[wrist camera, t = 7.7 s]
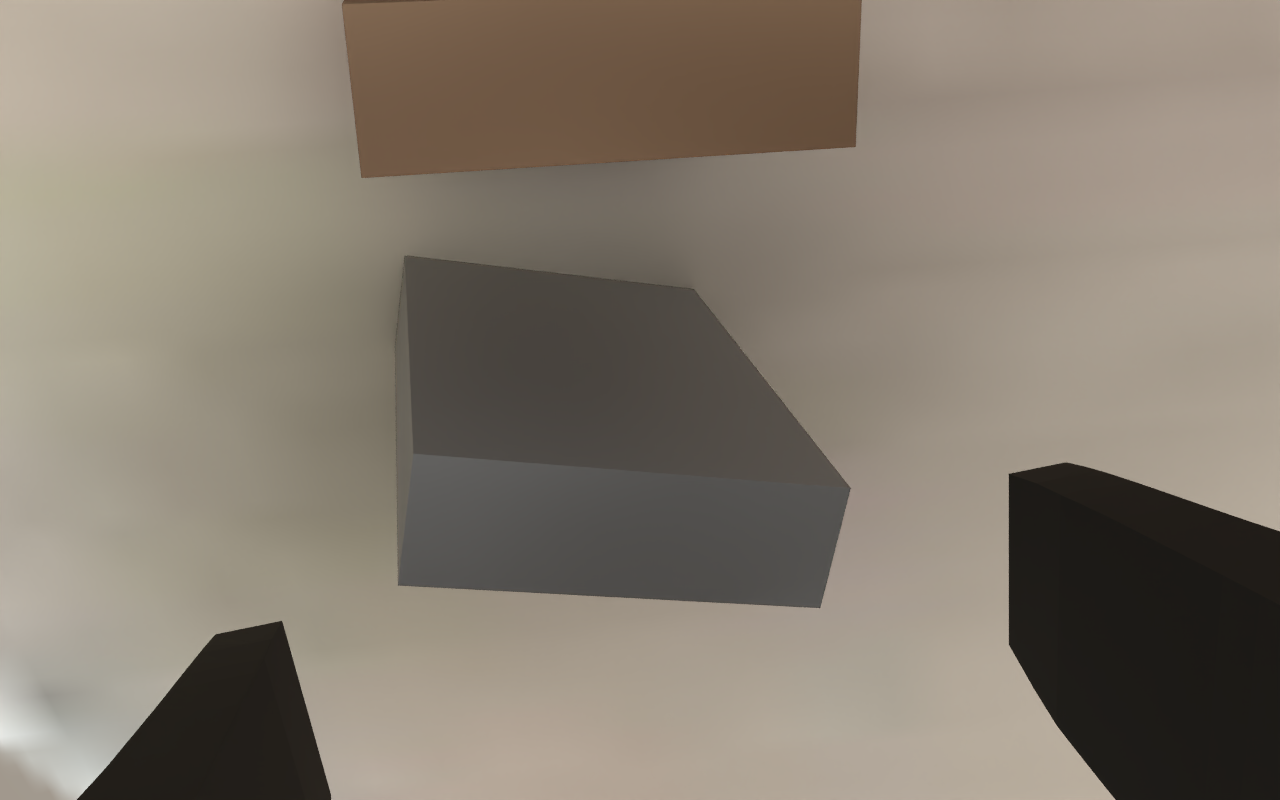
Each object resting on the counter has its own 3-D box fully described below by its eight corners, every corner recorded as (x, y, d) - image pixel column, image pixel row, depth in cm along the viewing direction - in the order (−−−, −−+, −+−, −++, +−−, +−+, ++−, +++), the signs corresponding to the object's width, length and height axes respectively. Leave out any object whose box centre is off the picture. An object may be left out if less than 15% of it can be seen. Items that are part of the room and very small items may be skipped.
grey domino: (404, 255, 20) (413, 452, 13) (693, 289, 21) (850, 488, 14) (394, 346, 21) (397, 585, 13) (677, 374, 22) (820, 607, 15)
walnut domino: (361, -36, 18) (343, 4, 11) (685, -47, 19) (862, -17, 12) (373, 72, 19) (361, 178, 12) (685, 57, 20) (855, 146, 13)
